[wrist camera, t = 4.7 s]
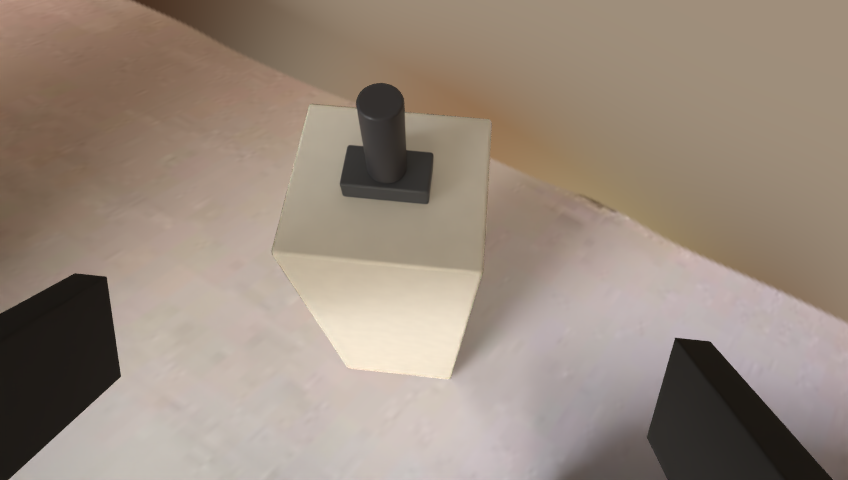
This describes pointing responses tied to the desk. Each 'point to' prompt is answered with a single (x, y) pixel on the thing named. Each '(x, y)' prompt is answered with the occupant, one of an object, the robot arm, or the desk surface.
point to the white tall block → (387, 230)
